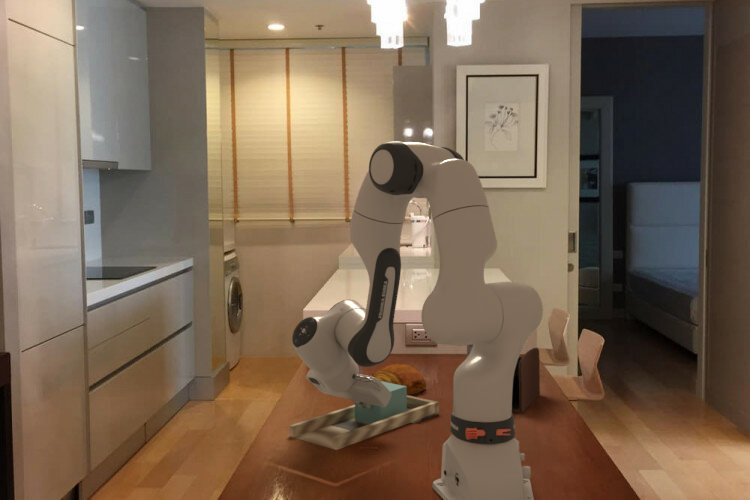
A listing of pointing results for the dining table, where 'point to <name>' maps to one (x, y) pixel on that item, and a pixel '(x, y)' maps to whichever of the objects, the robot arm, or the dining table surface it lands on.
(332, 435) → the trap lane
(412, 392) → the croissant
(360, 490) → the dining table surface
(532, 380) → the letter holder
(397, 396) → the teal block
